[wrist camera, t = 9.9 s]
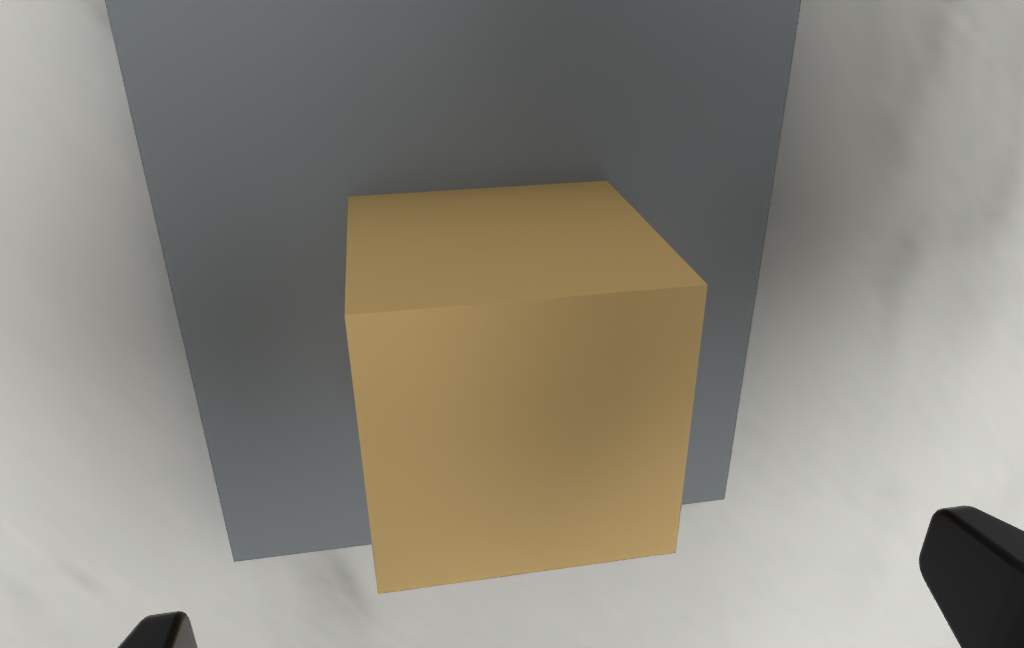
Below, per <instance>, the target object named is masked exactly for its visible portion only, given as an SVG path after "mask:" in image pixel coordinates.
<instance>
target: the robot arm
mask: <svg viewBox="0 0 1024 648" xmlns="http://www.w3.org/2000/svg"><path fill="white" fill-rule="evenodd" d="M919 566H920V570H921V573H922V576H923V578H924V580H925V582H926V584H927V586H928V588H929V589H930V591H931V593H932V595H933V597H934V599H935V600H936V602H937V604H938V606H939V608H940V610H941V611H942V613H943V615H944V617H945V619H946V621H947V622H948V624H949V626H950V628H951V630H952V632H953V633H954V635H955V637H956V639H957V641H958V643H959V644H960V646H961V648H1024V531H1023V530H1020V529H1018V528H1016V527H1014V526H1012V525H1010V524H1008V523H1006V522H1004V521H1002V520H1000V519H997V518H995V517H993V516H991V515H989V514H987V513H985V512H983V511H981V510H979V509H976V508H974V507H971V506H958V507H950V508H943V509H939V510H937V511H936V512H935V513H934V514H933V516H932V518H931V521H930V524H929V527H928V530H927V533H926V537H925V540H924V543H923V546H922V549H921V552H920V556H919ZM118 648H197V644H196V641H195V637H194V634H193V630H192V626H191V623H190V620H189V618H188V616H187V615H186V613H184V612H180V611H178V612H170V613H163V614H156V615H150V616H147V617H145V618H144V619H143V620H141V621H140V622H139V624H138V625H137V626H136V627H135V628H134V629H133V631H132V632H131V633H130V634H129V635H128V636H127V638H126V639H125V640H124V641H123V642H122V643H121V645H120V646H119V647H118Z"/></svg>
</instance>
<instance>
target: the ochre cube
mask: <svg viewBox="0 0 1024 648" xmlns="http://www.w3.org/2000/svg"><path fill="white" fill-rule="evenodd" d="M707 286H708V285H707V284H706V283H705V281H704V280H703V279H702V278H701V277H700V276H699V275H698V274H697V273H696V272H695V271H694V270H693V269H692V268H691V267H690V266H689V265H688V264H687V263H686V262H685V261H684V260H683V259H682V258H681V257H680V256H679V255H678V254H677V253H676V252H675V250H674V249H673V248H672V247H671V246H670V245H669V244H668V243H667V242H666V241H665V240H664V239H663V238H662V237H661V236H660V235H659V234H658V233H657V232H656V231H655V230H654V229H653V228H652V227H651V226H650V225H649V224H648V223H647V222H646V221H645V220H644V218H643V217H642V216H641V215H640V214H639V213H638V212H637V211H636V210H635V209H634V208H633V207H632V206H631V205H630V204H629V203H628V202H627V201H626V200H625V199H624V198H623V197H622V196H621V195H620V194H619V193H618V192H617V191H616V190H615V189H614V187H613V186H612V185H611V184H610V183H609V182H608V181H594V182H577V183H561V184H545V185H528V186H512V187H496V188H479V189H463V190H447V191H430V192H414V193H398V194H381V195H365V196H349V197H348V222H347V253H346V284H345V323H346V332H347V340H348V348H349V357H350V365H351V373H352V382H353V390H354V398H355V407H356V415H357V423H358V432H359V440H360V448H361V457H362V465H363V473H364V482H365V490H366V498H367V506H368V515H369V523H370V531H371V540H372V548H373V556H374V565H375V573H376V581H377V590H378V594H381V593H388V592H396V591H403V590H410V589H417V588H424V587H432V586H439V585H446V584H453V583H460V582H468V581H475V580H482V579H489V578H496V577H504V576H511V575H518V574H525V573H533V572H540V571H547V570H554V569H561V568H569V567H576V566H583V565H590V564H597V563H605V562H612V561H619V560H626V559H633V558H641V557H648V556H655V555H662V554H670V553H676V544H677V536H678V528H679V519H680V511H681V503H682V494H683V486H684V478H685V469H686V461H687V453H688V444H689V436H690V428H691V419H692V411H693V403H694V394H695V386H696V378H697V369H698V361H699V353H700V344H701V336H702V328H703V319H704V311H705V303H706V294H707Z"/></svg>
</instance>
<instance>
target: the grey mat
mask: <svg viewBox="0 0 1024 648" xmlns="http://www.w3.org/2000/svg"><path fill="white" fill-rule="evenodd" d="M105 3H106V8H107V12H108V16H109V21H110V25H111V29H112V34H113V38H114V42H115V47H116V51H117V55H118V60H119V64H120V68H121V73H122V77H123V81H124V86H125V90H126V94H127V99H128V103H129V107H130V112H131V116H132V120H133V125H134V129H135V134H136V138H137V142H138V147H139V151H140V155H141V160H142V164H143V168H144V173H145V177H146V181H147V186H148V190H149V194H150V199H151V203H152V207H153V212H154V216H155V220H156V225H157V229H158V233H159V238H160V242H161V246H162V251H163V255H164V260H165V264H166V268H167V273H168V277H169V281H170V286H171V290H172V294H173V299H174V303H175V307H176V312H177V316H178V320H179V325H180V329H181V333H182V338H183V342H184V346H185V351H186V355H187V359H188V364H189V368H190V372H191V377H192V381H193V385H194V390H195V394H196V399H197V403H198V407H199V412H200V416H201V420H202V425H203V429H204V433H205V438H206V442H207V446H208V451H209V455H210V459H211V464H212V468H213V472H214V477H215V481H216V485H217V490H218V494H219V498H220V503H221V507H222V511H223V516H224V520H225V525H226V529H227V533H228V538H229V542H230V546H231V551H232V555H233V559H234V562H236V561H244V560H252V559H259V558H267V557H275V556H283V555H291V554H299V553H306V552H314V551H322V550H330V549H338V548H346V547H353V546H361V545H369V544H372V540H371V531H370V523H369V515H368V506H367V498H366V490H365V482H364V473H363V465H362V457H361V448H360V440H359V432H358V423H357V415H356V407H355V398H354V390H353V382H352V373H351V365H350V357H349V348H348V340H347V332H346V323H345V284H346V253H347V222H348V197H349V196H365V195H381V194H398V193H414V192H430V191H447V190H463V189H479V188H496V187H512V186H528V185H545V184H561V183H577V182H594V181H608V182H609V183H610V184H611V185H612V186H613V187H614V189H615V190H616V191H617V192H618V193H619V194H620V195H621V196H622V197H623V198H624V199H625V200H626V201H627V202H628V203H629V204H630V205H631V206H632V207H633V208H634V209H635V210H636V211H637V212H638V213H639V214H640V215H641V216H642V217H643V218H644V220H645V221H646V222H647V223H648V224H649V225H650V226H651V227H652V228H653V229H654V230H655V231H656V232H657V233H658V234H659V235H660V236H661V237H662V238H663V239H664V240H665V241H666V242H667V243H668V244H669V245H670V246H671V247H672V248H673V249H674V250H675V252H676V253H677V254H678V255H679V256H680V257H681V258H682V259H683V260H684V261H685V262H686V263H687V264H688V265H689V266H690V267H691V268H692V269H693V270H694V271H695V272H696V273H697V274H698V275H699V276H700V277H701V278H702V279H703V280H704V281H705V283H706V284H707V285H708V286H707V294H706V303H705V311H704V319H703V328H702V336H701V344H700V353H699V361H698V369H697V378H696V386H695V394H694V403H693V411H692V419H691V428H690V436H689V444H688V453H687V461H686V469H685V478H684V486H683V494H682V503H681V505H682V504H690V503H698V502H706V501H713V500H721V499H724V498H725V491H726V485H727V478H728V472H729V465H730V459H731V452H732V446H733V439H734V433H735V426H736V420H737V413H738V407H739V400H740V394H741V387H742V381H743V374H744V368H745V361H746V355H747V348H748V342H749V335H750V329H751V322H752V316H753V309H754V303H755V296H756V290H757V283H758V277H759V270H760V264H761V258H762V251H763V245H764V238H765V232H766V225H767V219H768V212H769V206H770V199H771V193H772V186H773V180H774V173H775V167H776V160H777V154H778V147H779V141H780V134H781V128H782V121H783V115H784V108H785V102H786V95H787V89H788V82H789V76H790V69H791V63H792V56H793V50H794V43H795V37H796V30H797V24H798V17H799V11H800V4H801V0H105Z"/></svg>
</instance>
